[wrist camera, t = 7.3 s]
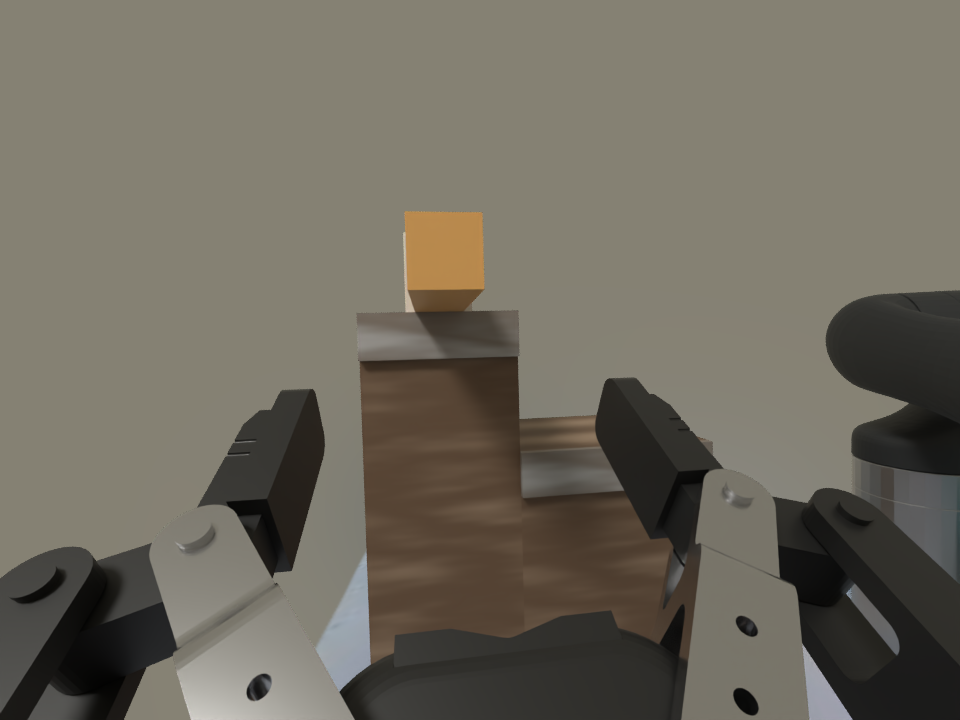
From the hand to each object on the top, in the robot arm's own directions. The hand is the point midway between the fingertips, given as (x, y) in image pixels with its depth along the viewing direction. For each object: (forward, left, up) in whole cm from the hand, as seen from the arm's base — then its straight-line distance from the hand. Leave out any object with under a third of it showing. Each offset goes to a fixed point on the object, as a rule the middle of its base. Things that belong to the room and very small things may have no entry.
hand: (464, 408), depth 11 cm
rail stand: (-27, -6, -28) cm, 39 cm away
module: (-17, -10, +4) cm, 20 cm away
